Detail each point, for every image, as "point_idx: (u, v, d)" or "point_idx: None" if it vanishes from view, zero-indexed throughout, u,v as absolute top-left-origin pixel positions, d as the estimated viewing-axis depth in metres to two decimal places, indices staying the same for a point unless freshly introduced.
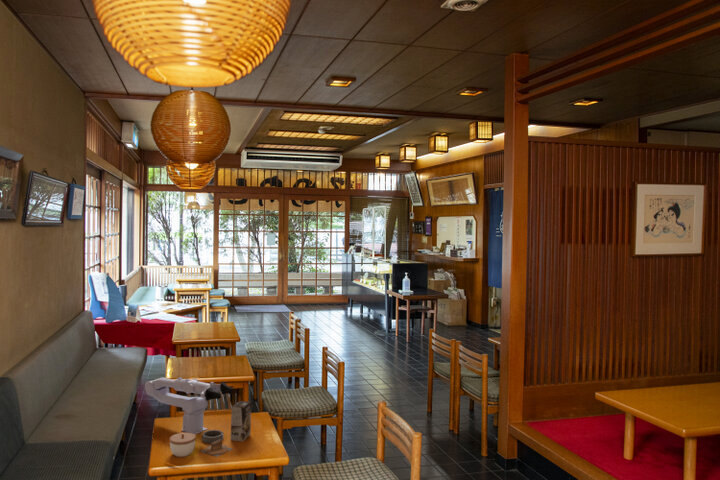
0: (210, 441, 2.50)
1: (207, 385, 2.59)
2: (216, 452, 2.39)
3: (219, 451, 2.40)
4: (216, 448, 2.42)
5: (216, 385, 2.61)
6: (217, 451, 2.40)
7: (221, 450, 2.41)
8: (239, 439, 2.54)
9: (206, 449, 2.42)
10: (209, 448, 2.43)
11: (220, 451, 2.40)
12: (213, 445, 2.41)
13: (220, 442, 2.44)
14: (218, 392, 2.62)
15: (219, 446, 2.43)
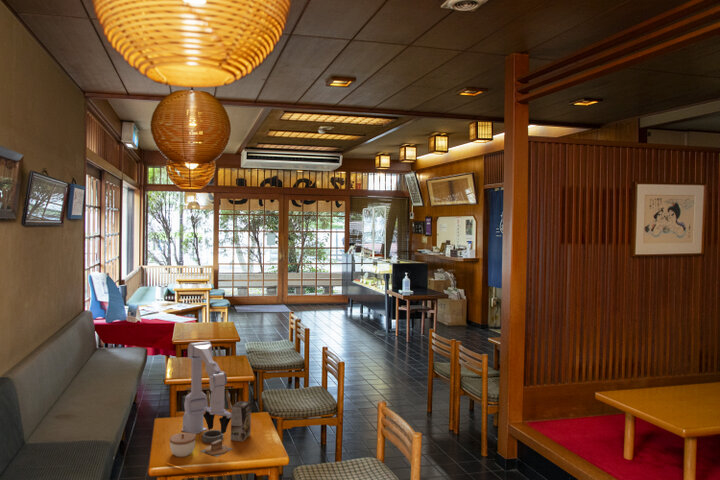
0: (210, 441, 2.50)
1: (211, 408, 2.41)
2: (216, 452, 2.39)
3: (219, 451, 2.40)
4: (216, 448, 2.42)
5: None
6: (217, 451, 2.40)
7: (221, 450, 2.41)
8: (239, 439, 2.54)
9: (206, 449, 2.42)
10: (209, 448, 2.43)
11: (220, 451, 2.40)
12: (213, 445, 2.41)
13: (220, 442, 2.44)
14: (226, 412, 2.42)
15: (219, 446, 2.43)
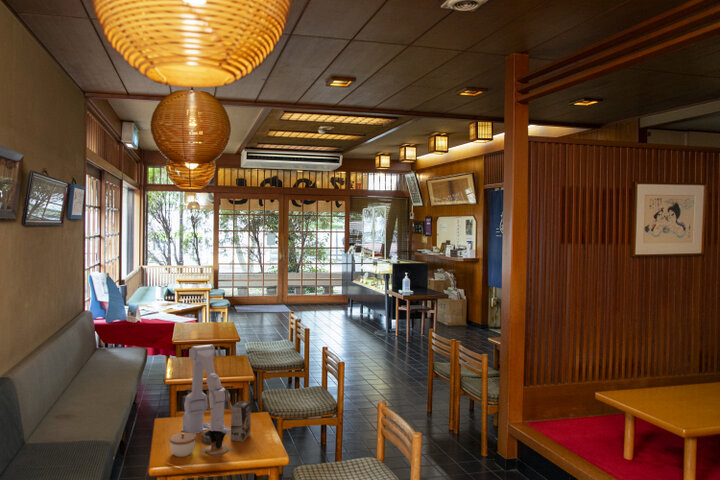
0: (210, 441, 2.50)
1: (211, 424, 2.41)
2: (216, 452, 2.39)
3: (219, 451, 2.40)
4: (216, 448, 2.42)
5: None
6: (217, 451, 2.40)
7: (221, 450, 2.41)
8: (239, 439, 2.54)
9: (206, 449, 2.42)
10: (209, 448, 2.43)
11: (220, 451, 2.40)
12: (213, 445, 2.41)
13: None
14: None
15: None
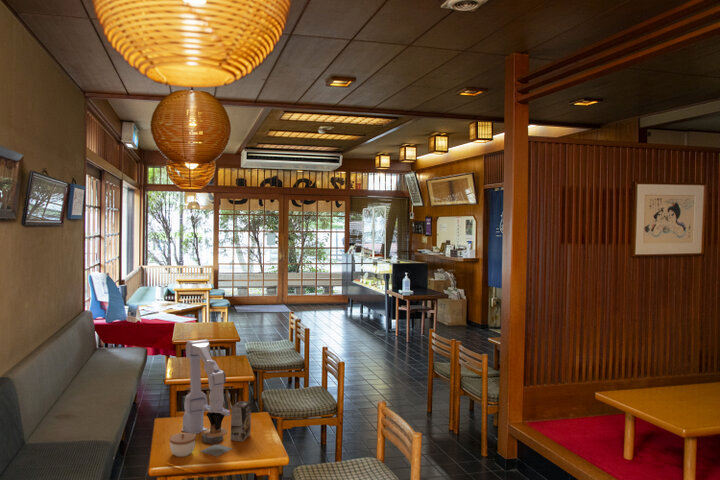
0: (210, 441, 2.50)
1: (210, 406, 2.44)
2: (215, 434, 2.42)
3: (218, 434, 2.43)
4: (215, 431, 2.45)
5: None
6: (216, 433, 2.43)
7: (220, 433, 2.44)
8: (239, 439, 2.54)
9: (205, 432, 2.45)
10: (208, 431, 2.46)
11: (219, 434, 2.43)
12: (212, 428, 2.44)
13: None
14: None
15: (218, 429, 2.46)
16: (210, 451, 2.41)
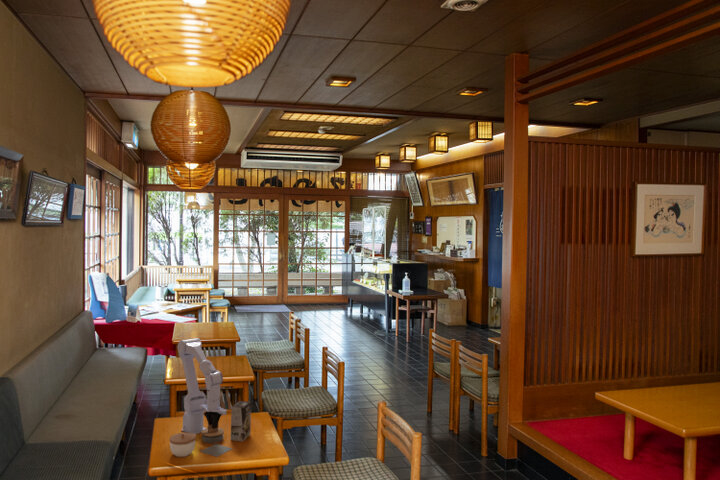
0: (210, 441, 2.50)
1: (207, 405, 2.53)
2: (212, 434, 2.51)
3: (215, 433, 2.52)
4: (213, 430, 2.53)
5: None
6: (213, 433, 2.52)
7: (217, 432, 2.53)
8: (239, 439, 2.54)
9: (203, 431, 2.54)
10: (206, 431, 2.55)
11: (216, 433, 2.52)
12: (209, 427, 2.52)
13: None
14: None
15: (215, 429, 2.55)
16: (210, 451, 2.41)
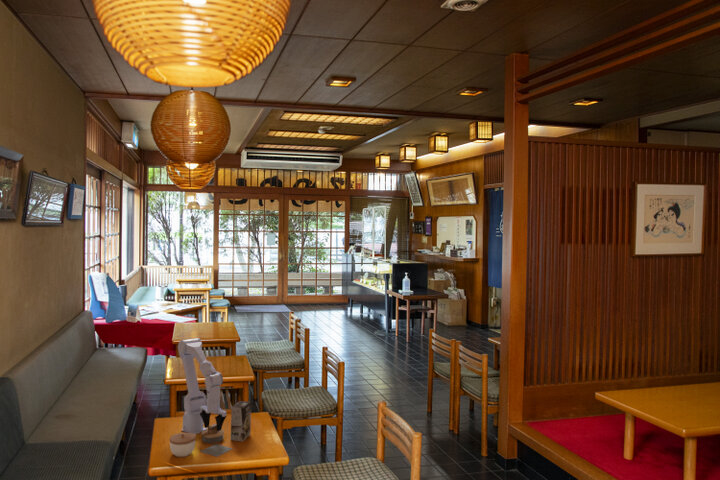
0: (210, 441, 2.50)
1: (207, 406, 2.53)
2: (212, 435, 2.51)
3: (215, 434, 2.52)
4: (213, 432, 2.53)
5: None
6: (213, 434, 2.52)
7: (217, 434, 2.53)
8: (239, 439, 2.54)
9: (203, 433, 2.54)
10: (206, 432, 2.55)
11: (216, 434, 2.52)
12: (209, 429, 2.52)
13: (216, 426, 2.55)
14: None
15: (215, 430, 2.55)
16: (210, 451, 2.41)
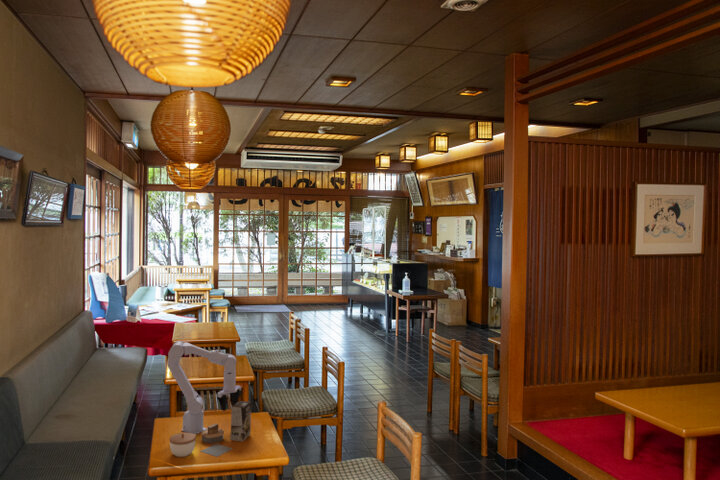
0: (210, 441, 2.50)
1: (231, 387, 2.66)
2: (212, 435, 2.51)
3: (215, 434, 2.52)
4: (213, 432, 2.53)
5: None
6: (213, 434, 2.52)
7: (217, 434, 2.53)
8: (239, 439, 2.54)
9: (203, 433, 2.54)
10: (206, 432, 2.55)
11: (216, 434, 2.52)
12: (209, 429, 2.52)
13: (216, 426, 2.55)
14: None
15: (215, 430, 2.55)
16: (210, 451, 2.41)
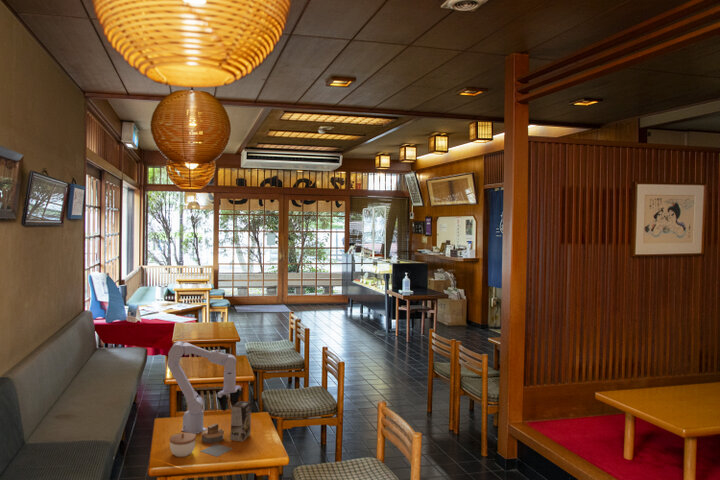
0: (210, 441, 2.50)
1: (231, 387, 2.66)
2: (212, 435, 2.51)
3: (215, 434, 2.52)
4: (213, 432, 2.53)
5: None
6: (213, 434, 2.52)
7: (217, 434, 2.53)
8: (239, 439, 2.54)
9: (203, 433, 2.54)
10: (206, 432, 2.55)
11: (216, 434, 2.52)
12: (209, 429, 2.52)
13: (216, 426, 2.55)
14: None
15: (215, 430, 2.55)
16: (210, 451, 2.41)
